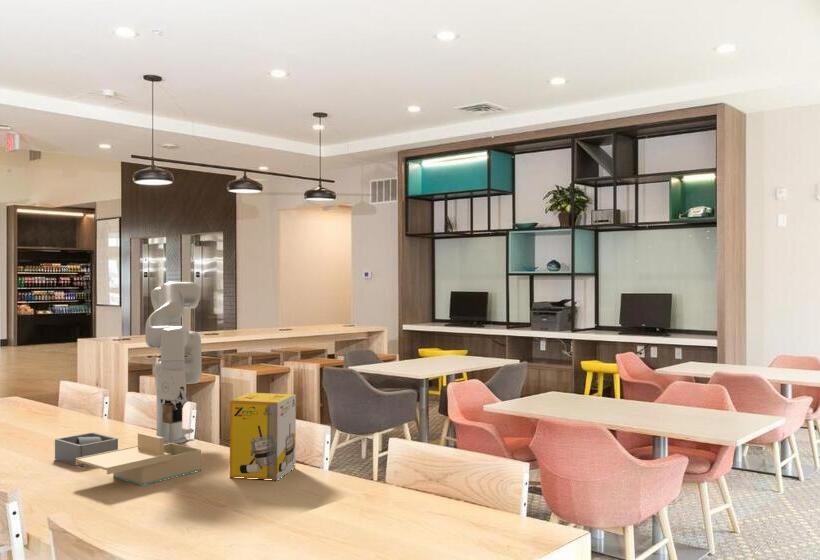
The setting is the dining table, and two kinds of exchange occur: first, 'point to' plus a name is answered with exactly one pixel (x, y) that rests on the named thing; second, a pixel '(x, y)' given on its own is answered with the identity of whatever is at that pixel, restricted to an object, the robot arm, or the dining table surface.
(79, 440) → the ceramic mug
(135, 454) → the lid
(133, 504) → the dining table surface
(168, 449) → the base
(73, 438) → the coaster tray
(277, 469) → the packaging box
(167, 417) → the walnut block
